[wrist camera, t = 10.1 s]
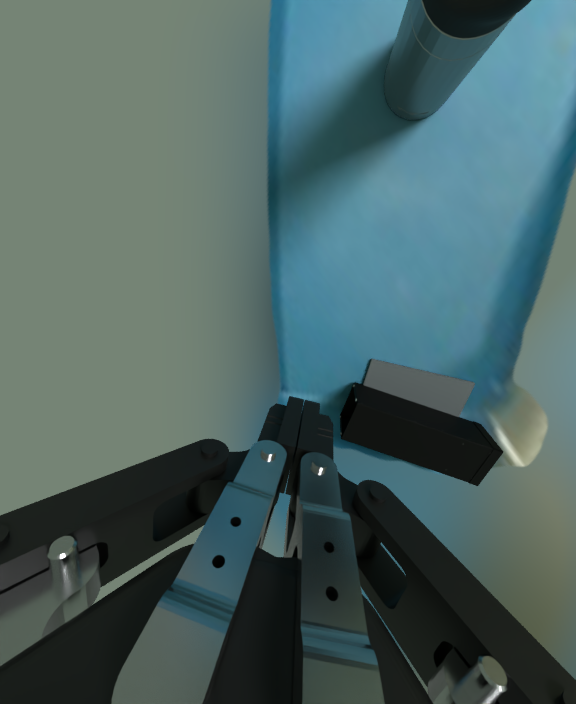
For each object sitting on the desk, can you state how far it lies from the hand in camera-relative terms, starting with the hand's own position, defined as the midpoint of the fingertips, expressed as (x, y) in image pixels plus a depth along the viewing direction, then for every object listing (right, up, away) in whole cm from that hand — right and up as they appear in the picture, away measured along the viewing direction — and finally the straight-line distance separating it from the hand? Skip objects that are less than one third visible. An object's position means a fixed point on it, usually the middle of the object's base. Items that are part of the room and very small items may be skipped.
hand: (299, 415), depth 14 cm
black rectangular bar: (+10, -7, +39) cm, 40 cm away
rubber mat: (+23, -6, +41) cm, 47 cm away
